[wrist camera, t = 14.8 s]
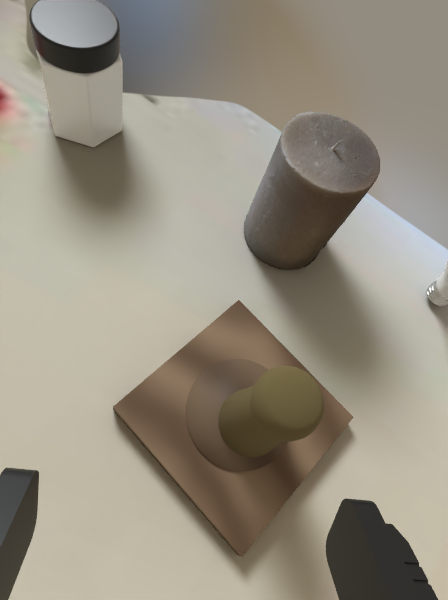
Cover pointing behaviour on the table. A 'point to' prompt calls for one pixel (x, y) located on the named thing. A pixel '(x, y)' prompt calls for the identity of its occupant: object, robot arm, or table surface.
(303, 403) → the cork
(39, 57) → the jar
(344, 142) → the pillar candle
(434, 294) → the light bulb
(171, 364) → the walnut board
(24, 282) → the table surface
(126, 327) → the table surface
